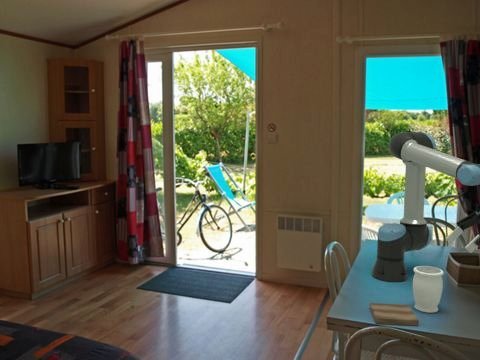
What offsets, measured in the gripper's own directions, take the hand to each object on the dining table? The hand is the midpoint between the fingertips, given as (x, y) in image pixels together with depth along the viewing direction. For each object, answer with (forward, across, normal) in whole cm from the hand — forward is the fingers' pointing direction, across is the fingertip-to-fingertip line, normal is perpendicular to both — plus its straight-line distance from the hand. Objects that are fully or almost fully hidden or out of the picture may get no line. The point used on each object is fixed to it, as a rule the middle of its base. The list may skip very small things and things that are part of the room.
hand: (457, 245), depth 172 cm
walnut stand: (+35, -6, +1) cm, 36 cm away
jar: (+25, 0, -10) cm, 27 cm away
